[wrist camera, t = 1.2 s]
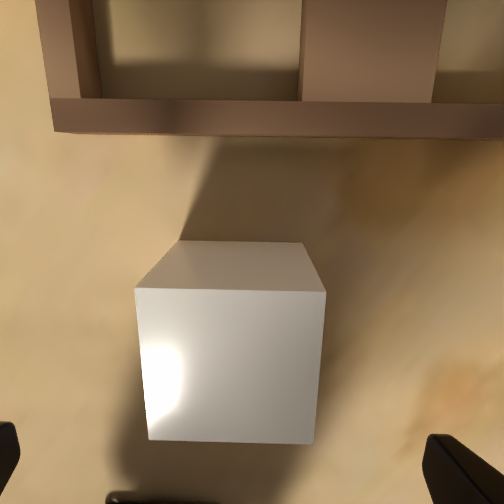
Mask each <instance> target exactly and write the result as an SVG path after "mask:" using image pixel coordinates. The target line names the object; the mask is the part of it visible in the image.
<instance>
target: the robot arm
mask: <svg viewBox="0 0 504 504" xmlns="http://www.w3.org/2000/svg"><path fill="white" fill-rule="evenodd" d="M19 458H20V446H19V441H18V437H17V433H16V429H15V425H14V424H13V423H12V422H5V421H0V495H1V494H2V492H3V490H4V488H5V486H6V484H7V482H8V481H9V479H10V477H11V475H12V473H13V471H14V469H15V468H16V466H17V464H18V461H19ZM422 470H423V475H424V478H425V481H426V484H427V487H428V490H429V492H430V495H431V498H432V501H433V504H504V475H503V474H502V473H500V472H499V471H498V470H496V469H495V468H494V467H492V466H491V465H490V464H488V463H487V462H486V461H484V460H483V459H482V458H480V457H479V456H478V455H476V454H475V453H474V452H472V451H471V450H470V449H469V448H467V447H466V446H465V445H463V444H462V443H461V442H459V441H458V440H457V439H455V438H454V437H452V436H451V435H448V434H430V435H429V436H428V438H427V442H426V446H425V451H424V456H423V461H422ZM107 504H124V503H107Z"/></svg>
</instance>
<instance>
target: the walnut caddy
mask: <svg viewBox="0 0 504 504" xmlns="http://www.w3.org/2000/svg"><path fill="white" fill-rule="evenodd" d="M35 4H36V11H37V18H38V25H39V31H40V38H41V45H42V51H43V58H44V65H45V72H46V78H47V85H48V92H49V98H50V105H51V112H52V119H53V125H54V132H64V133H73V134H106V135H175V136H244V137H312V138H381V139H449V140H504V104H480V103H431V99H432V93H433V87H434V80H435V74H436V68H437V61H438V55H439V49H440V42H441V36H442V29H443V23H444V17H445V10H446V4H447V0H302V15H301V35H300V56H299V76H298V96H297V101H245V100H166V99H102V97H101V88H100V78H99V69H98V60H97V50H96V41H95V32H94V22H93V13H92V4H91V0H35Z"/></svg>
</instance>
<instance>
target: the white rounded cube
mask: <svg viewBox="0 0 504 504" xmlns="http://www.w3.org/2000/svg"><path fill="white" fill-rule="evenodd" d="M134 290H135V300H136V311H137V321H138V332H139V342H140V353H141V363H142V374H143V384H144V395H145V405H146V416H147V426H148V437H149V440H167V441H201V442H236V443H271V444H306V445H313V444H314V432H315V420H316V409H317V397H318V385H319V374H320V362H321V350H322V338H323V327H324V315H325V303H326V290H325V288H324V286H323V284H322V282H321V280H320V278H319V276H318V274H317V271H316V269H315V267H314V265H313V263H312V261H311V259H310V257H309V255H308V253H307V251H306V249H305V247H304V245H303V243H290V242H238V241H186V240H178V242H177V243H176V244H175V245H174V246H173V247H172V248H171V249H170V250H169V251H168V252H167V253H166V254H165V255H164V257H163V258H162V259H161V260H160V261H159V262H158V263H157V264H156V265H155V266H154V267H153V268H152V269H151V270H150V272H149V273H148V274H147V275H146V276H145V277H144V278H143V279H142V280H141V281H140V282H139V283H138V284H137V285H136V287H135V288H134Z"/></svg>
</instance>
